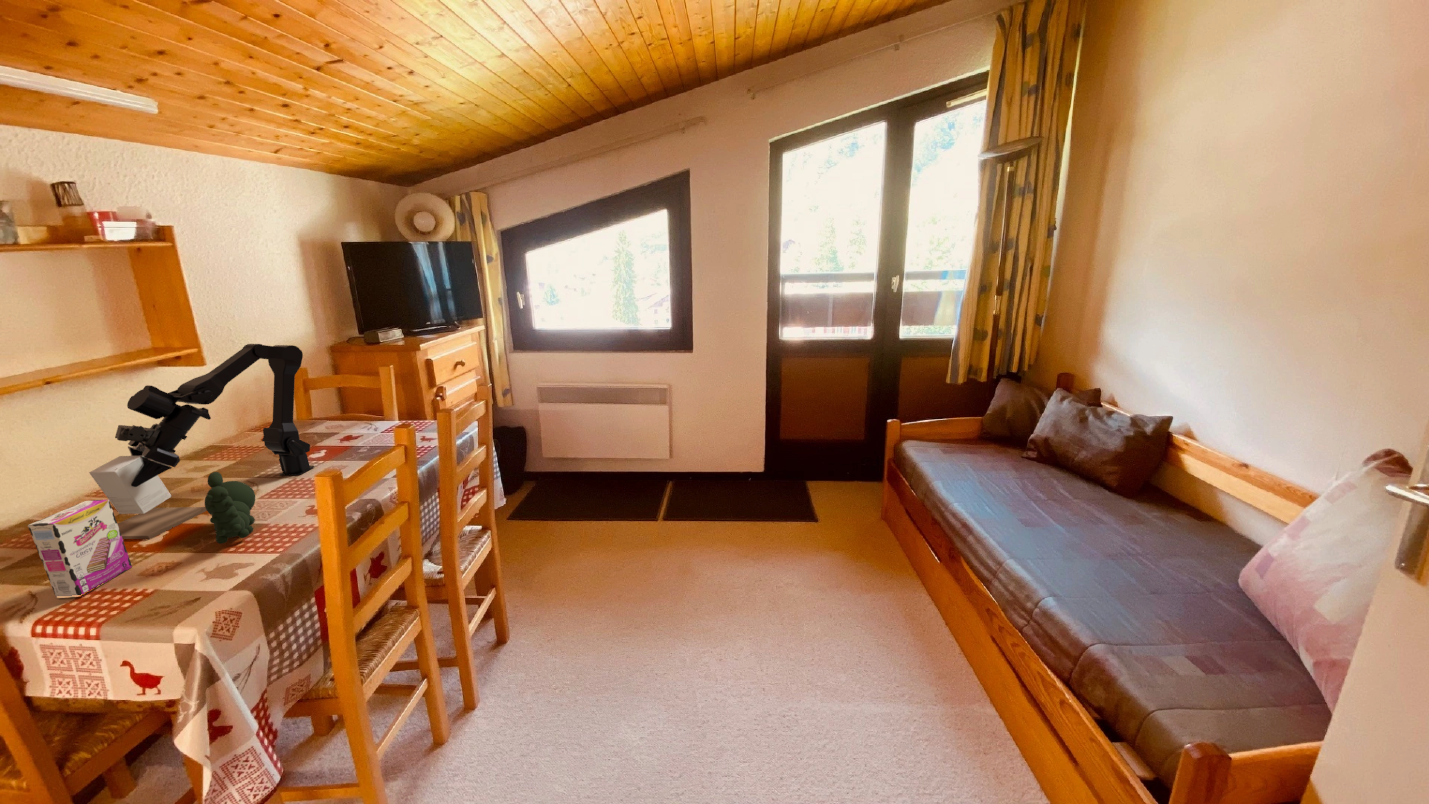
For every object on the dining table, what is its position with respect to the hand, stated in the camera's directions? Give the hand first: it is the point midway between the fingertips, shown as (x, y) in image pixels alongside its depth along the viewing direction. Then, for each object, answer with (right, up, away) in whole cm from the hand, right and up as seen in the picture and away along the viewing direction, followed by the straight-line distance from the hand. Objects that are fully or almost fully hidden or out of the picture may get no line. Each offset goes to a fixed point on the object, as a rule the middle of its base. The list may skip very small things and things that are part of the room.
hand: (128, 482), depth 134 cm
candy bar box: (+15, -18, -20) cm, 31 cm away
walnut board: (+1, -11, +4) cm, 12 cm away
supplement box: (+1, -6, +3) cm, 7 cm away
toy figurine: (+27, -12, 0) cm, 30 cm away
